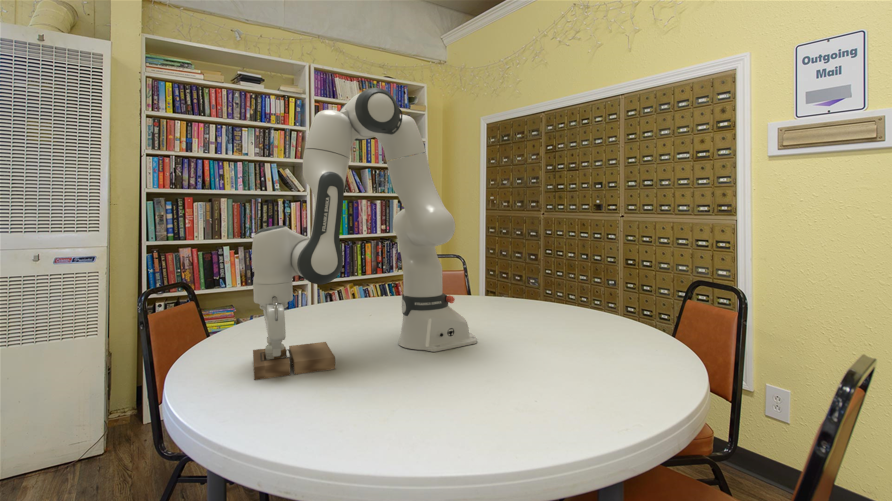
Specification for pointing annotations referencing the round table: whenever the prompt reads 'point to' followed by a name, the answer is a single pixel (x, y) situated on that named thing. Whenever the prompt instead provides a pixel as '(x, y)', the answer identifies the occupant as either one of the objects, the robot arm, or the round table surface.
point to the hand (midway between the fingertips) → (275, 350)
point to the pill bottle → (269, 351)
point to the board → (294, 361)
